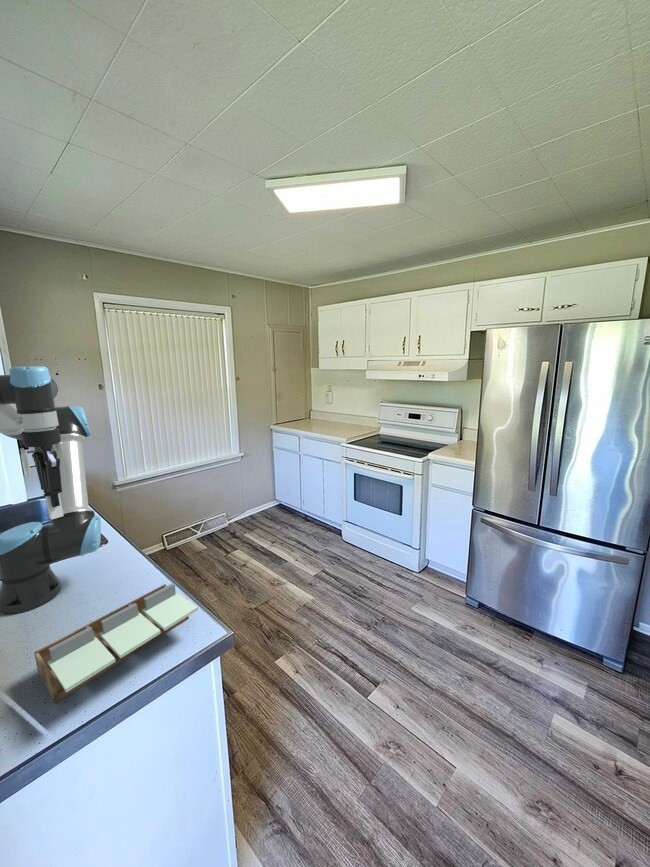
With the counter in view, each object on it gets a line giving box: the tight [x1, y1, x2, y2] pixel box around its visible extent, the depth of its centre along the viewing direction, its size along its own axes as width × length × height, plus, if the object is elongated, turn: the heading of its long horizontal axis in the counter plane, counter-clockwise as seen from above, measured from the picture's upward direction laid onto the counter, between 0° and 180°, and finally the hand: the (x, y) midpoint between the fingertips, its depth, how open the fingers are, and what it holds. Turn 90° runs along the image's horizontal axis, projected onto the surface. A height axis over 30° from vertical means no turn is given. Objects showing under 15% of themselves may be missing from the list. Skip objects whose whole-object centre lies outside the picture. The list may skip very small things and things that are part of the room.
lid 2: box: [99, 603, 161, 659], centre depth 85 cm, size 11×9×4 cm
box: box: [33, 584, 190, 704], centre depth 90 cm, size 12×31×7 cm, turn 142°
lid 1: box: [48, 627, 116, 692], centre depth 77 cm, size 11×9×4 cm
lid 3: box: [142, 582, 199, 631], centre depth 92 cm, size 11×9×4 cm
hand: (56, 517), depth 93 cm, fingers closed
